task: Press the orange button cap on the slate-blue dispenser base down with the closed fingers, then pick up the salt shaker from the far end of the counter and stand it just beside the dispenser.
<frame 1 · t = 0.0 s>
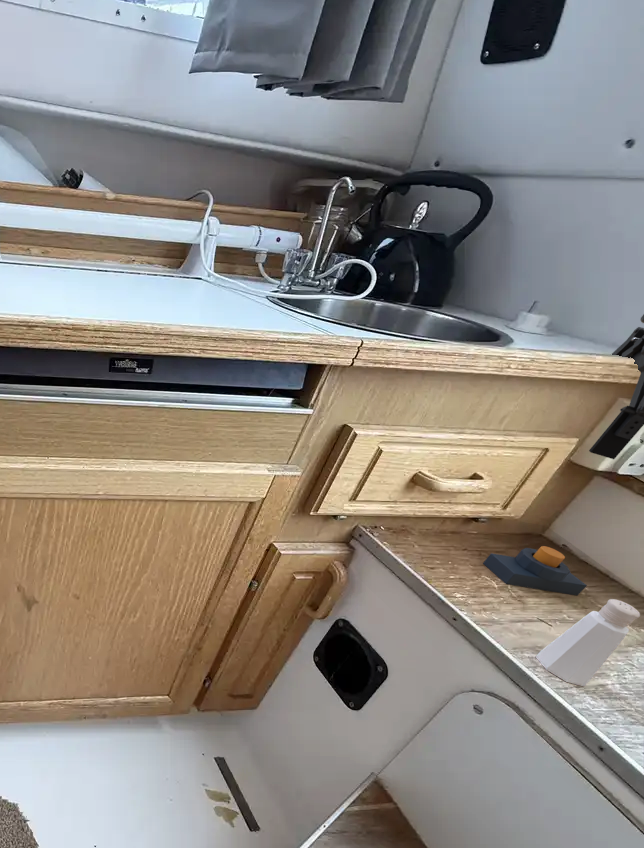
hand: (585, 440, 85), 21 cm above the counter, tool pointing down, fingers open, 13 cm apart
salt shaker: (559, 669, 70), on the counter
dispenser: (528, 579, 88), on the counter
orange button cap: (548, 557, 85), point 5 cm above the counter, slide at 0.1 cm
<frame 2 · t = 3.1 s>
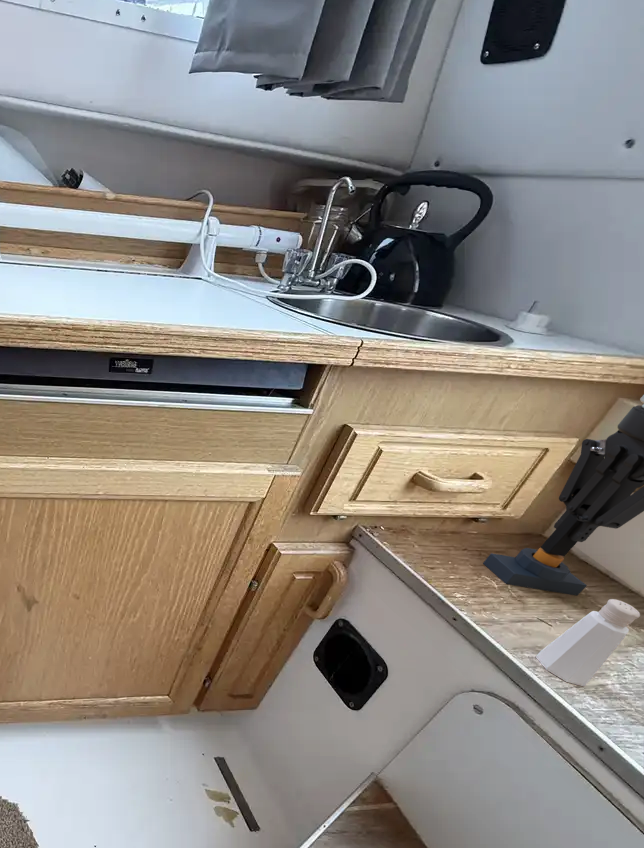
hand: (552, 551, 85), 6 cm above the counter, tool pointing down, fingers closed
orange button cap: (547, 558, 86), point 4 cm above the counter, slide at -0.2 cm, touching gripper
everything else where it was.
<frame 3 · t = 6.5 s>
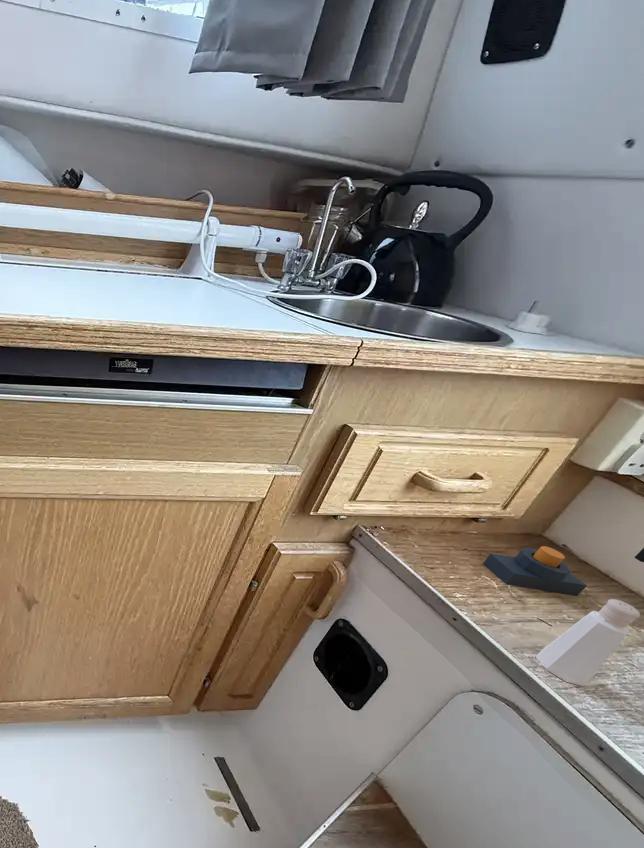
orange button cap: (548, 557, 85), point 5 cm above the counter, slide at 0.1 cm
everything else where it was.
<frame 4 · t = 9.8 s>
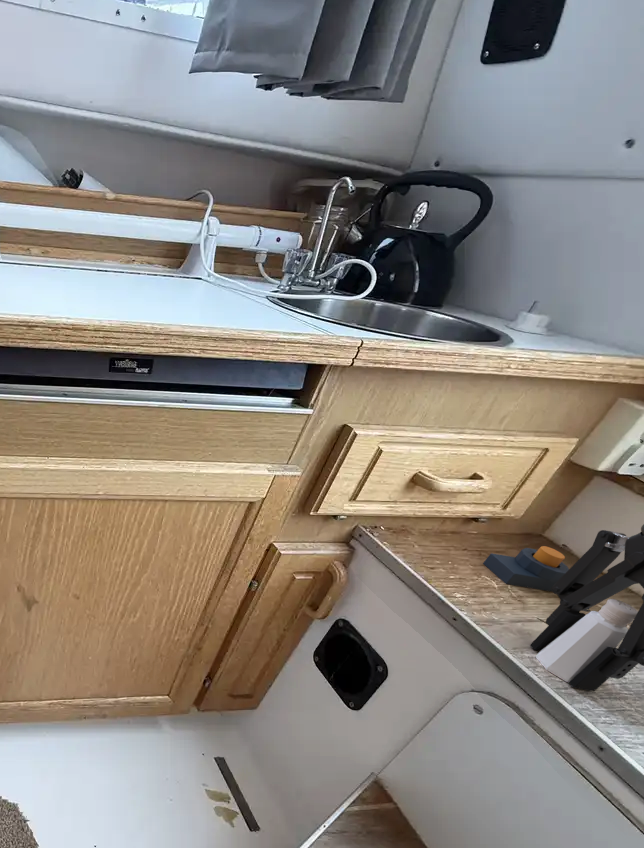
hand: (560, 666, 70), 0 cm above the counter, tool pointing down, fingers closed on salt shaker, 5 cm apart
salt shaker: (559, 669, 70), on the counter, touching gripper
everything else where it was.
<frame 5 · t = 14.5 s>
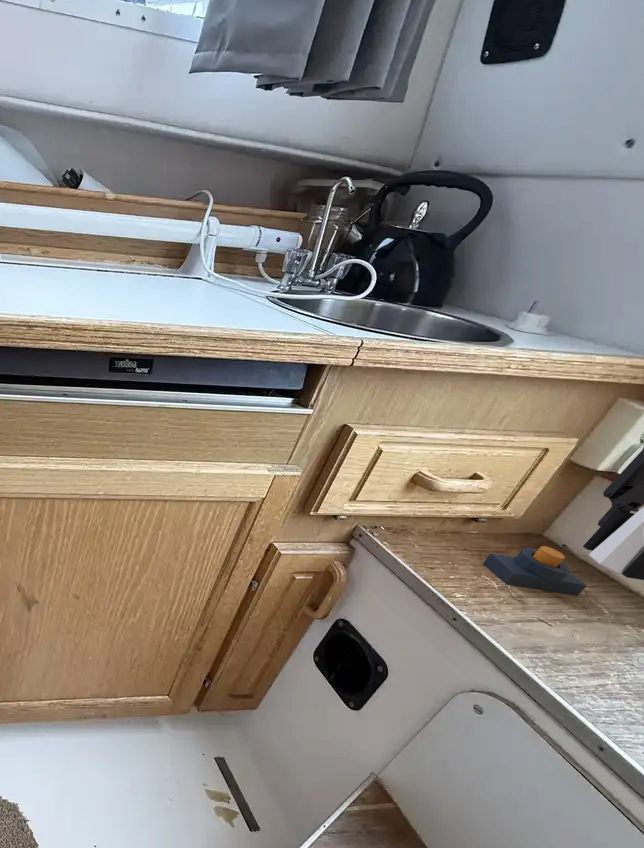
hand: (612, 562, 77), 9 cm above the counter, tool pointing down, fingers closed on salt shaker, 5 cm apart
salt shaker: (611, 565, 77), point 9 cm above the counter, touching gripper
everything else where it was.
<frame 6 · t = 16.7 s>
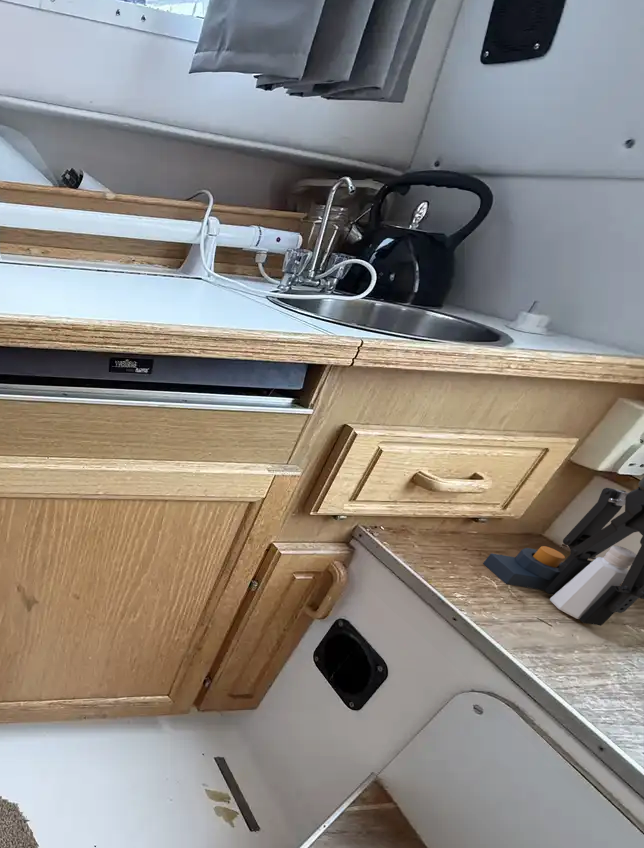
hand: (572, 607, 81), 1 cm above the counter, tool pointing down, fingers closed on salt shaker, 5 cm apart
salt shaker: (570, 609, 82), on the counter, touching gripper
everything else where it was.
when the fingers open (1 cm above the counter, at t = 19.3 s): salt shaker stays where it is, on the counter.
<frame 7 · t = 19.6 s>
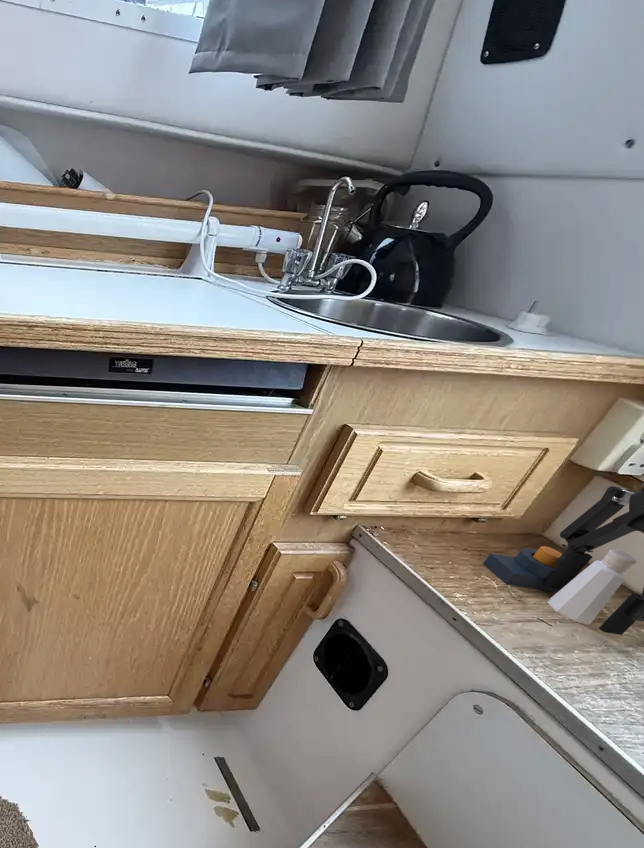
hand: (580, 608, 80), 2 cm above the counter, tool pointing down, fingers open, 8 cm apart
salt shaker: (568, 612, 82), on the counter
everything else where it was.
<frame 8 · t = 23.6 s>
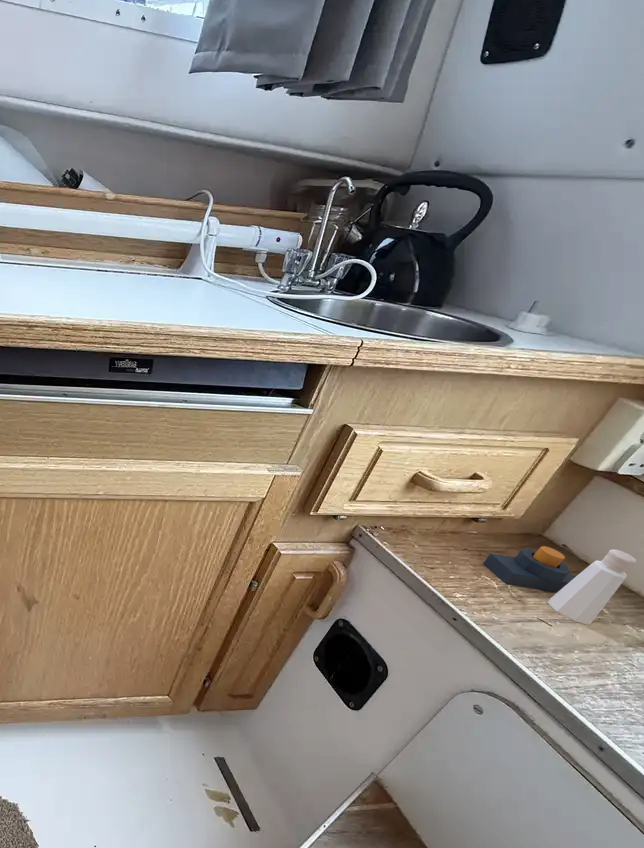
nothing on the counter moved.
at the end: orange button cap pushed in 1.0 cm at the most during the clip, back to where it started at the end; salt shaker 0.3 cm from the target spot on the counter beside the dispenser, on the counter; salt shaker tilted 0° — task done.
